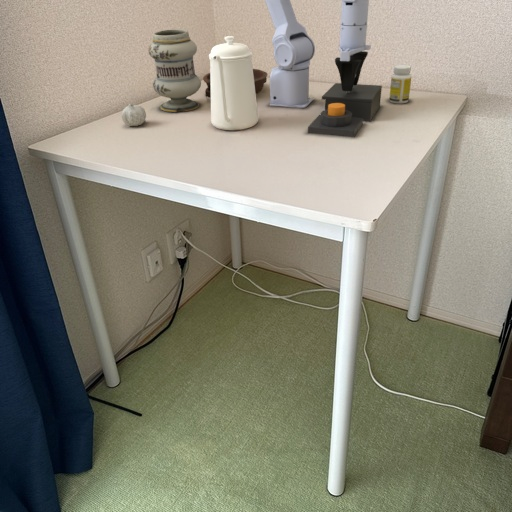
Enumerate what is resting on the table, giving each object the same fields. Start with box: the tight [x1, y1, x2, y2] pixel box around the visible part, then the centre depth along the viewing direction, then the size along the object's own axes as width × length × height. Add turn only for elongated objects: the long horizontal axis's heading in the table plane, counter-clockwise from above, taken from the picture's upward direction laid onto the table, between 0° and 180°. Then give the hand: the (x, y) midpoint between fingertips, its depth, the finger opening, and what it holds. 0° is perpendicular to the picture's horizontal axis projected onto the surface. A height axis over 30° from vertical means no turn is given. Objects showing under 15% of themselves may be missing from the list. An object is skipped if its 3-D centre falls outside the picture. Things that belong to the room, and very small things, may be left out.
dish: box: [202, 68, 268, 99], centre depth 135 cm, size 18×22×5 cm
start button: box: [328, 103, 345, 116], centre depth 105 cm, size 4×4×2 cm
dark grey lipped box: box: [324, 88, 383, 123], centre depth 116 cm, size 11×13×4 cm
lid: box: [321, 75, 383, 103], centre depth 114 cm, size 11×13×4 cm
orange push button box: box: [307, 109, 364, 138], centre depth 106 cm, size 10×9×4 cm
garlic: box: [121, 102, 147, 127], centre depth 114 cm, size 6×5×5 cm
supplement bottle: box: [388, 64, 412, 105], centre depth 121 cm, size 5×5×8 cm
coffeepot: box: [208, 35, 259, 131], centre depth 108 cm, size 11×25×19 cm, turn 168°
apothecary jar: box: [148, 28, 202, 113], centre depth 122 cm, size 12×12×18 cm
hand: (349, 87), depth 114 cm, fingers open, 5 cm apart
